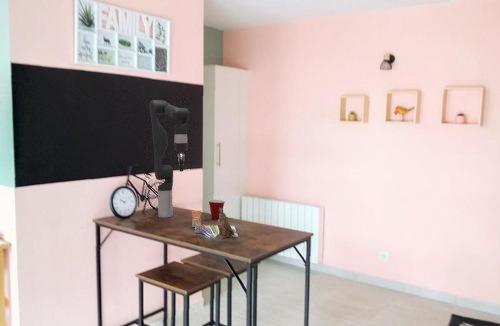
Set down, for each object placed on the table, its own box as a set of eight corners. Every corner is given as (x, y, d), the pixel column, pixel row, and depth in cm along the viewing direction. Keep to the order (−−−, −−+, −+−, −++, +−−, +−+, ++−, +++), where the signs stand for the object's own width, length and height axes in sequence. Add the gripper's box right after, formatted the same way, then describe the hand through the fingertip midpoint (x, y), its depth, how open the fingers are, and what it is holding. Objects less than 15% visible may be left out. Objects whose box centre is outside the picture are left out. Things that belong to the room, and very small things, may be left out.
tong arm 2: (196, 224, 253) (196, 218, 252) (198, 224, 253) (198, 218, 253) (198, 232, 235) (198, 225, 235) (200, 232, 235) (200, 225, 235)
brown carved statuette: (222, 243, 224) (217, 212, 219) (214, 241, 227) (210, 210, 222) (236, 234, 233) (232, 203, 228) (228, 232, 236) (224, 202, 231)
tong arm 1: (193, 225, 252) (193, 218, 252) (195, 224, 253) (195, 218, 252) (195, 232, 235) (195, 225, 234) (198, 232, 235) (198, 225, 235)
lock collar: (192, 225, 249) (191, 210, 248) (200, 225, 250) (200, 210, 249) (192, 227, 246) (192, 211, 245) (201, 226, 247) (200, 211, 246)
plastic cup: (228, 218, 270) (228, 200, 269) (216, 221, 262) (216, 202, 261) (217, 216, 277) (217, 198, 276) (204, 219, 269) (204, 200, 268)
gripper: (187, 142, 245) (188, 172, 247) (186, 141, 258) (187, 169, 260) (174, 142, 244) (175, 172, 245) (174, 141, 256) (174, 170, 258)
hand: (181, 171), depth 252 cm, fingers closed
